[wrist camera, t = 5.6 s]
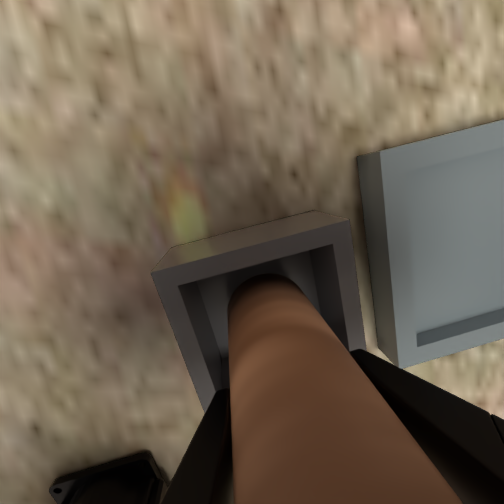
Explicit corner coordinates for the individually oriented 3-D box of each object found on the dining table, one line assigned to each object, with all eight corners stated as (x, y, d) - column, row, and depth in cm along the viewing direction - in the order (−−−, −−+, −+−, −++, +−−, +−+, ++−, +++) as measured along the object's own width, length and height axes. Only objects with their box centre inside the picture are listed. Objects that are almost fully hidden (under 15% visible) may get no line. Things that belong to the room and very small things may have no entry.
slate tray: (378, 348, 16) (399, 369, 15) (356, 156, 13) (379, 151, 11) (546, 298, 17) (587, 313, 15) (568, 102, 14) (624, 88, 12)
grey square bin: (213, 366, 15) (209, 426, 12) (171, 247, 13) (150, 272, 9) (334, 332, 16) (370, 379, 12) (313, 210, 14) (349, 219, 10)
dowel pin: (238, 354, 13) (285, 861, 3) (217, 286, 12) (193, 743, 2) (312, 333, 13) (564, 751, 3) (298, 264, 12) (615, 592, 2)
